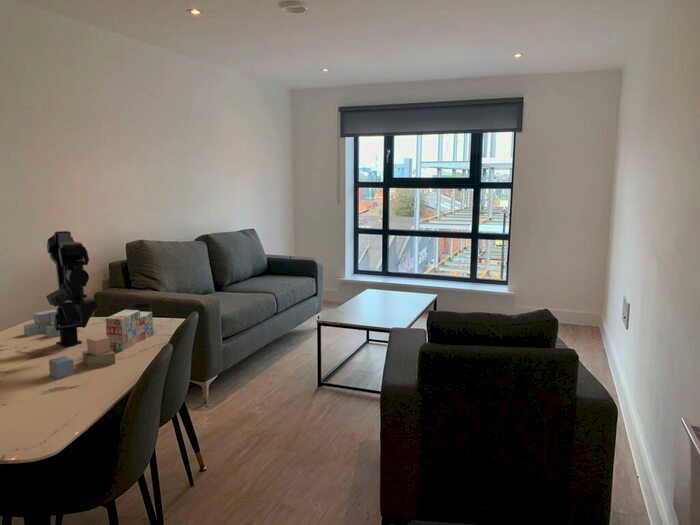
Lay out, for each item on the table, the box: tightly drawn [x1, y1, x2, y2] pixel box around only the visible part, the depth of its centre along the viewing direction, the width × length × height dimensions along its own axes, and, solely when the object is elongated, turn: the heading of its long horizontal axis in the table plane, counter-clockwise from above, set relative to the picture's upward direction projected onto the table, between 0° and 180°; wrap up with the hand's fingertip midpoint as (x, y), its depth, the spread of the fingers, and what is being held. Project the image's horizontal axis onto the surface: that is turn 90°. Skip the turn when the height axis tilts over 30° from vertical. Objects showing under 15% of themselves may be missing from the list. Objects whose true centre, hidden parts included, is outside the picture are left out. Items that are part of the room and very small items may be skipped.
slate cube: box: [48, 355, 75, 379], centre depth 164 cm, size 5×5×5 cm
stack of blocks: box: [105, 309, 154, 352], centre depth 197 cm, size 21×6×12 cm, turn 171°
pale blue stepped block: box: [23, 308, 60, 338], centre depth 204 cm, size 12×12×8 cm
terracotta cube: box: [86, 334, 110, 355], centre depth 174 cm, size 5×5×5 cm
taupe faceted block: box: [82, 349, 116, 369], centre depth 175 cm, size 8×8×4 cm
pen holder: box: [126, 302, 152, 312], centre depth 213 cm, size 9×9×10 cm
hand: (76, 324), depth 178 cm, fingers open, 9 cm apart
